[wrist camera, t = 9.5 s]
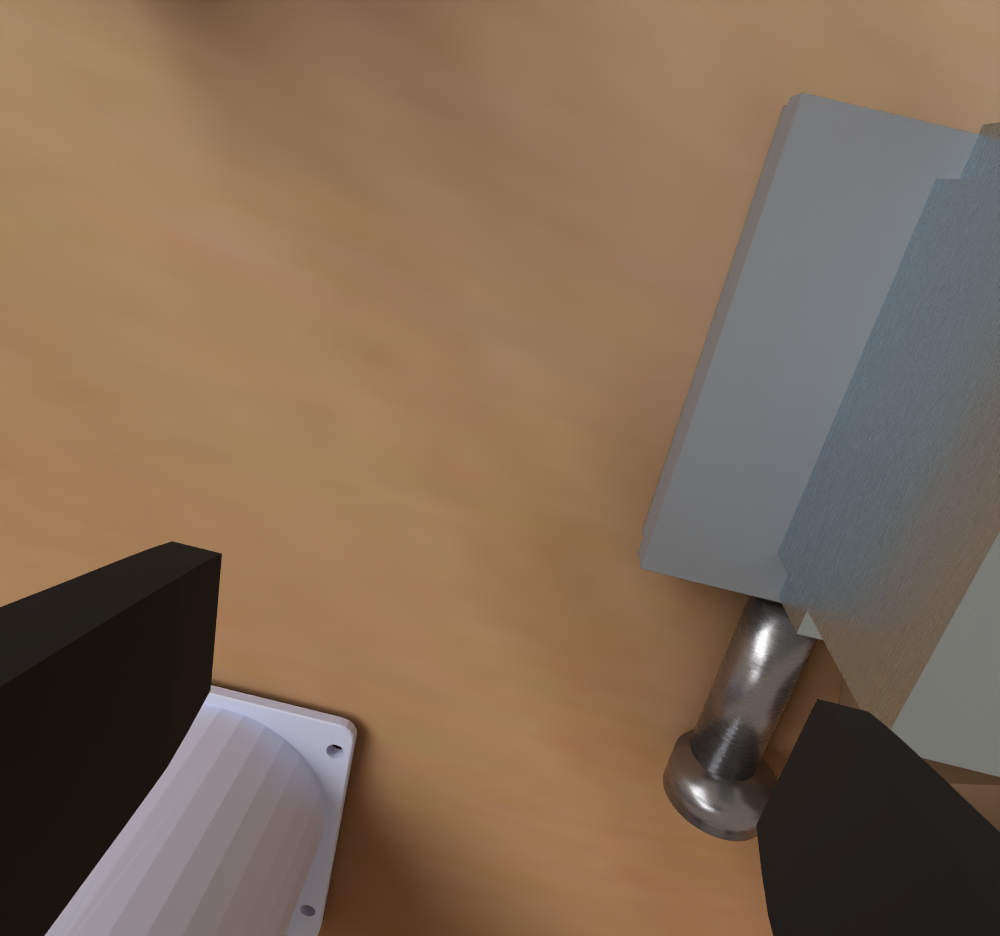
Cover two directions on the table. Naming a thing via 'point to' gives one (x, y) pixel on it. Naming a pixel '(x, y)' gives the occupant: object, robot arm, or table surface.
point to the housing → (918, 490)
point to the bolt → (738, 726)
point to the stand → (790, 334)
